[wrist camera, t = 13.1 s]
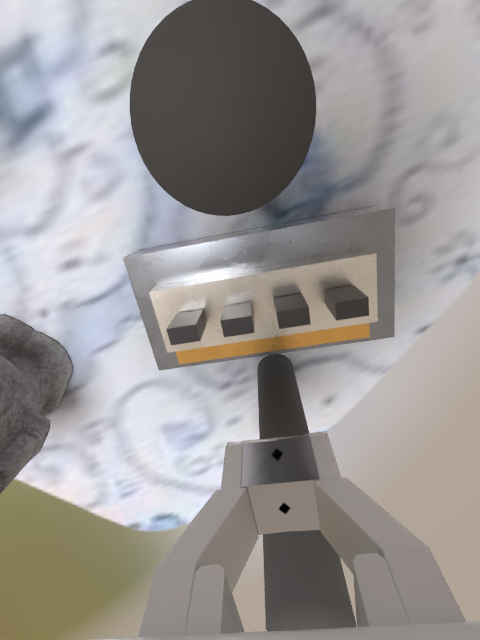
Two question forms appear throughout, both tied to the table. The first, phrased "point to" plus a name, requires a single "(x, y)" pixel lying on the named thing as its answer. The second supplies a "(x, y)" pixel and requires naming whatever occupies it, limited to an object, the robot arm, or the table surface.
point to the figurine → (27, 392)
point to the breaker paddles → (288, 314)
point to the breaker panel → (264, 254)
